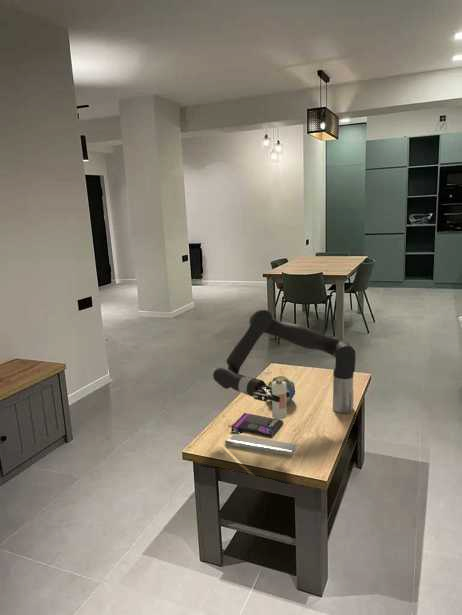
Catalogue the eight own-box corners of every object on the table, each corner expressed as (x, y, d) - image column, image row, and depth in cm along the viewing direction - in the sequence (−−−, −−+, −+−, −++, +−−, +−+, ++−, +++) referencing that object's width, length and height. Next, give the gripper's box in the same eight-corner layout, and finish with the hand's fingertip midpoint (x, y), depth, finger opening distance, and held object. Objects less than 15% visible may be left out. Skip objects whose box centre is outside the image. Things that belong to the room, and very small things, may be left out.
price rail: (292, 455, 181) (292, 450, 181) (291, 456, 180) (291, 452, 180) (226, 443, 192) (226, 439, 191) (225, 445, 190) (224, 440, 190)
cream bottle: (269, 414, 185) (269, 379, 182) (282, 412, 187) (282, 376, 183) (276, 420, 179) (275, 383, 176) (289, 418, 181) (288, 381, 178)
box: (231, 433, 204) (272, 441, 196) (230, 425, 204) (271, 433, 195) (244, 419, 216) (283, 426, 208) (244, 412, 216) (283, 419, 207)
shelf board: (297, 447, 189) (297, 444, 189) (291, 459, 180) (291, 456, 180) (234, 436, 200) (234, 433, 199) (225, 447, 191) (225, 445, 190)
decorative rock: (281, 378, 221) (297, 370, 233) (255, 381, 231) (272, 373, 243) (288, 406, 221) (304, 397, 233) (262, 408, 231) (278, 399, 243)
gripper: (239, 383, 185) (272, 393, 174) (263, 373, 195) (295, 382, 184) (240, 400, 187) (272, 412, 175) (263, 390, 197) (295, 400, 185)
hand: (284, 397), depth 180 cm, fingers closed on cream bottle, 5 cm apart
